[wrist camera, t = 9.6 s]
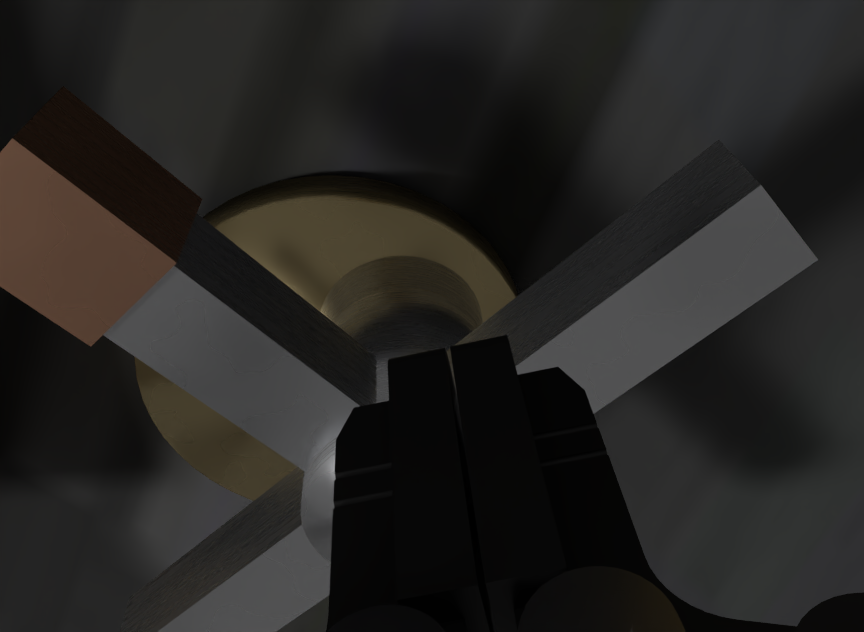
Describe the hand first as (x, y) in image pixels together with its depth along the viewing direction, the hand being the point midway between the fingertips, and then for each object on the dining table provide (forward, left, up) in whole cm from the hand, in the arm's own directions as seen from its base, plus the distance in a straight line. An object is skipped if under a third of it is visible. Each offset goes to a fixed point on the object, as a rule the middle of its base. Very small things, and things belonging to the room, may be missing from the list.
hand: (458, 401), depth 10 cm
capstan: (-6, +1, -12) cm, 14 cm away
